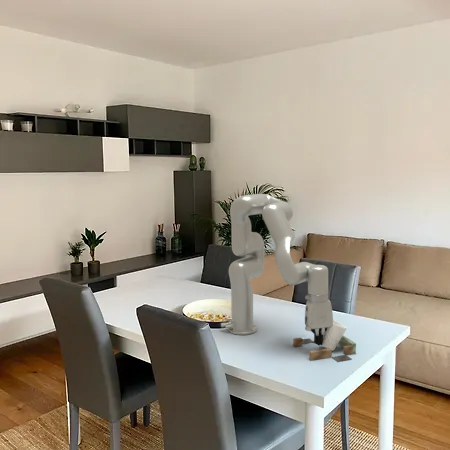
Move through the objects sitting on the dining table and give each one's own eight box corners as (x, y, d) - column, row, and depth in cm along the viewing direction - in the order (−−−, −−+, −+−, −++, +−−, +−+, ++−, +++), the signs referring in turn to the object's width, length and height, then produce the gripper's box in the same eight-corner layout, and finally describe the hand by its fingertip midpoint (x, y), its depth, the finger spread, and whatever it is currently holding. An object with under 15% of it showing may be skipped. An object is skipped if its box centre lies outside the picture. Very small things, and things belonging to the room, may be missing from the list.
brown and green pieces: (316, 365, 166) (316, 354, 165) (288, 342, 188) (288, 332, 188) (362, 358, 172) (362, 347, 171) (329, 336, 194) (329, 327, 193)
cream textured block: (314, 338, 183) (325, 316, 183) (332, 345, 184) (342, 323, 183) (320, 346, 176) (331, 322, 175) (338, 353, 177) (349, 330, 176)
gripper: (304, 302, 170) (305, 350, 172) (340, 298, 174) (340, 344, 176) (296, 297, 177) (296, 343, 179) (330, 293, 181) (331, 338, 183)
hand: (318, 343), depth 178 cm, fingers closed
